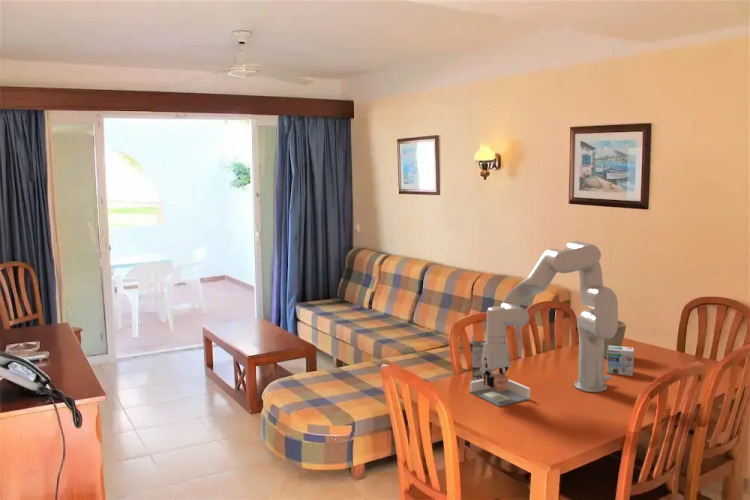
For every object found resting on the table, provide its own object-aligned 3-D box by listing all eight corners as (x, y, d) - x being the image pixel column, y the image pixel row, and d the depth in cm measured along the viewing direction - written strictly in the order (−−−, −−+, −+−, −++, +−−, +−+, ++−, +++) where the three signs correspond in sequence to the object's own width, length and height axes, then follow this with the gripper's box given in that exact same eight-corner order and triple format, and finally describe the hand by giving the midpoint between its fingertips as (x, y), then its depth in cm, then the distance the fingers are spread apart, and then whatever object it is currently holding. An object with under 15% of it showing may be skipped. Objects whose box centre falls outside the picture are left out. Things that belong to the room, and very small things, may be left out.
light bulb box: (606, 373, 276) (607, 349, 274) (607, 368, 282) (607, 344, 281) (633, 376, 272) (634, 351, 270) (633, 371, 278) (634, 347, 277)
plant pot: (588, 351, 308) (589, 318, 306) (620, 352, 306) (621, 319, 304) (594, 360, 294) (595, 326, 292) (628, 361, 292) (629, 327, 290)
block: (507, 389, 246) (507, 376, 245) (498, 391, 243) (498, 378, 243) (492, 382, 253) (492, 370, 253) (483, 384, 251) (483, 372, 251)
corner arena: (499, 386, 262) (499, 375, 262) (529, 399, 247) (530, 388, 246) (469, 392, 255) (469, 381, 255) (499, 407, 240) (499, 395, 239)
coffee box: (487, 385, 264) (487, 346, 262) (471, 384, 265) (471, 346, 263) (488, 378, 273) (488, 340, 271) (472, 377, 274) (472, 340, 272)
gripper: (507, 334, 253) (506, 378, 255) (472, 339, 245) (472, 386, 248) (519, 338, 247) (519, 384, 249) (484, 344, 239) (484, 391, 241)
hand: (495, 384), depth 248 cm, fingers closed on block, 4 cm apart
